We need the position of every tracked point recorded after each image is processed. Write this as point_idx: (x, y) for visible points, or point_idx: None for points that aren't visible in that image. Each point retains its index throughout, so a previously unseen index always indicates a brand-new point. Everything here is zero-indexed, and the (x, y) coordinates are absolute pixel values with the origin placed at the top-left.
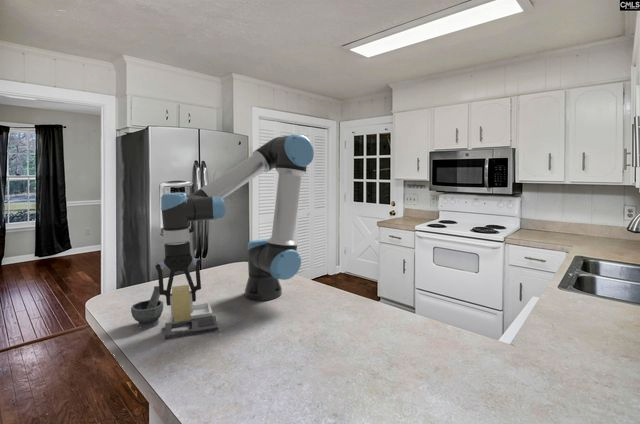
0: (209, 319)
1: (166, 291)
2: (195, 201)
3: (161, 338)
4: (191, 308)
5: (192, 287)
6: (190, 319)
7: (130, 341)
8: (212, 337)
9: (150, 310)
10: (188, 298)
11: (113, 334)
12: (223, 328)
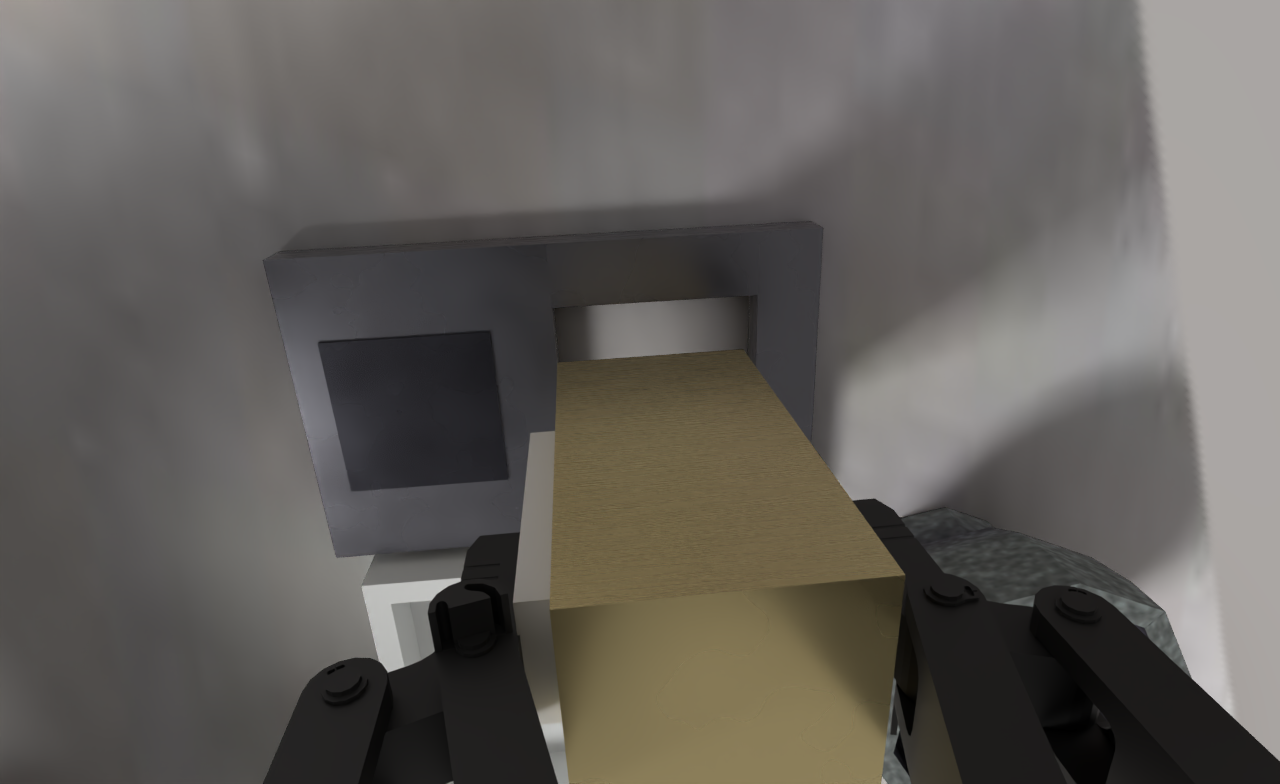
0: (386, 477)
1: (1000, 632)
2: None
3: (838, 260)
4: (545, 458)
5: (480, 696)
6: (565, 362)
7: (1091, 289)
8: (330, 98)
9: (1008, 590)
10: (573, 499)
11: (1194, 471)
12: (233, 292)
